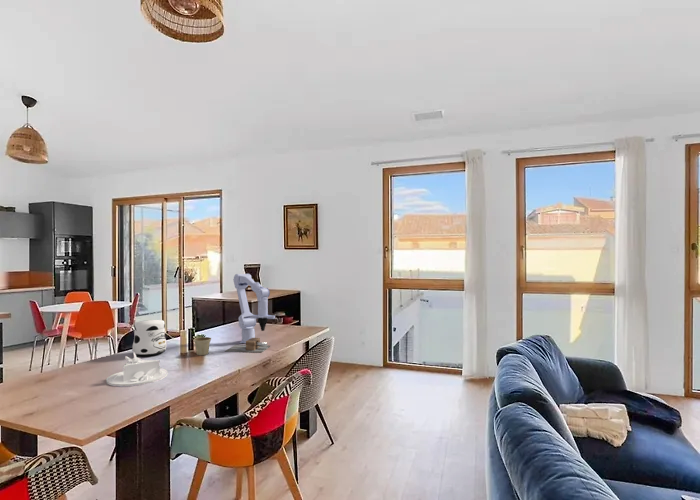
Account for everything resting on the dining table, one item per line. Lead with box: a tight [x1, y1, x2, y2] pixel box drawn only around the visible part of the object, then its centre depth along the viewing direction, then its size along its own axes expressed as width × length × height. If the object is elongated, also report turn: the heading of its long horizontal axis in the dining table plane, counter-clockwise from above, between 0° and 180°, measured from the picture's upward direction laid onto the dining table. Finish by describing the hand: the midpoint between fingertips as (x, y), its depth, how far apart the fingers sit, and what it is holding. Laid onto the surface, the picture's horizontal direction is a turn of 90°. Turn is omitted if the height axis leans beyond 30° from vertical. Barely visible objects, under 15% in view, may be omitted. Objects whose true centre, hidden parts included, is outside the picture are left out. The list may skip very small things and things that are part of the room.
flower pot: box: [193, 336, 212, 356], centre depth 230 cm, size 9×9×9 cm
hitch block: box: [224, 337, 271, 354], centre depth 242 cm, size 16×22×6 cm
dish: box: [106, 351, 169, 388], centre depth 187 cm, size 25×25×11 cm
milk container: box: [132, 319, 168, 357], centre depth 230 cm, size 17×17×18 cm
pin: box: [256, 341, 268, 346], centre depth 241 cm, size 4×12×4 cm, turn 83°
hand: (262, 330), depth 247 cm, fingers closed
